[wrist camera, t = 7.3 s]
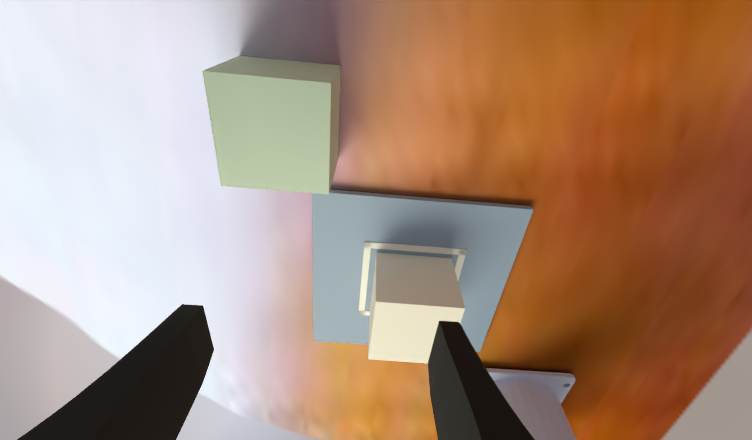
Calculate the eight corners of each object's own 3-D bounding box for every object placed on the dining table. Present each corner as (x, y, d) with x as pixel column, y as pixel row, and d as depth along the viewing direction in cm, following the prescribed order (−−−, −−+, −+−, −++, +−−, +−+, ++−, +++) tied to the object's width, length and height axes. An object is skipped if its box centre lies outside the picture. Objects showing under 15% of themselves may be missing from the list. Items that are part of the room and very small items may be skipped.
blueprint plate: (478, 347, 26) (480, 352, 26) (314, 336, 26) (313, 341, 25) (530, 205, 20) (533, 210, 19) (313, 188, 19) (311, 192, 19)
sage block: (338, 158, 18) (328, 194, 15) (250, 150, 18) (220, 185, 15) (341, 65, 16) (331, 83, 13) (240, 55, 16) (202, 71, 12)
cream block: (437, 311, 24) (447, 364, 20) (369, 306, 23) (368, 359, 20) (451, 258, 21) (465, 308, 18) (376, 252, 21) (375, 301, 18)
